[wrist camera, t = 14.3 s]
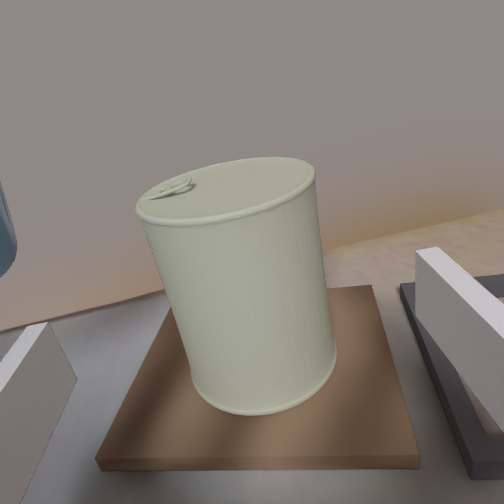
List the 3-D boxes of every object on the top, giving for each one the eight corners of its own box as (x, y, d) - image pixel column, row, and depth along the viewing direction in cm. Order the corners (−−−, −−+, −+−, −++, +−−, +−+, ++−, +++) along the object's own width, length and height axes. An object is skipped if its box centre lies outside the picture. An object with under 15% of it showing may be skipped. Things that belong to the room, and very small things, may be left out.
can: (200, 323, 29) (153, 167, 24) (323, 304, 29) (302, 138, 23) (181, 427, 21) (103, 225, 16) (352, 404, 20) (331, 184, 15)
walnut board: (101, 470, 21) (94, 459, 20) (176, 312, 33) (172, 302, 33) (419, 468, 18) (419, 454, 17) (371, 295, 30) (371, 284, 30)
